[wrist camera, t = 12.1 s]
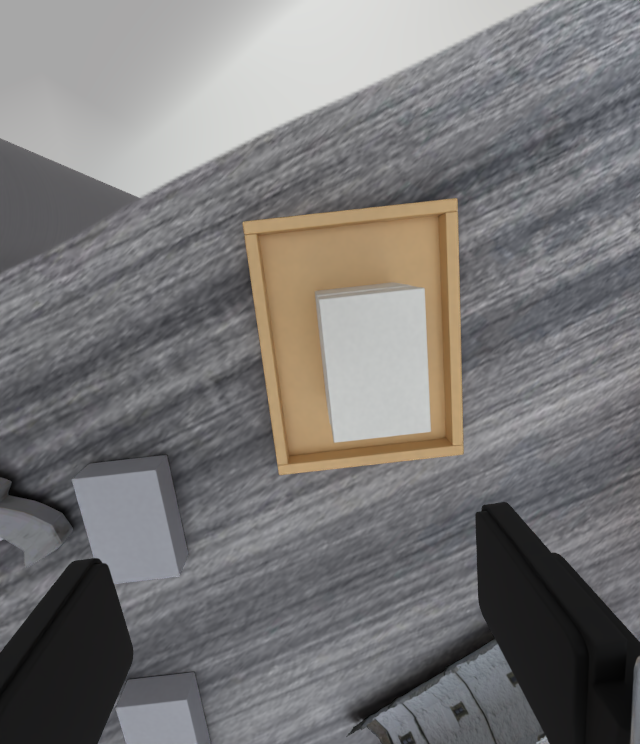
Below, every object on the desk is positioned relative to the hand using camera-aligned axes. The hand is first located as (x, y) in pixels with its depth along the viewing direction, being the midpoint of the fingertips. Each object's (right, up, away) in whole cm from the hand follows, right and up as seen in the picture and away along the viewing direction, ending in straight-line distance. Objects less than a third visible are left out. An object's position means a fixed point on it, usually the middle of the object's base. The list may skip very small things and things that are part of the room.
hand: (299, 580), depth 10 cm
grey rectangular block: (-13, -26, +27) cm, 40 cm away
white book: (+3, +6, +14) cm, 16 cm away
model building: (+14, -22, +27) cm, 38 cm away
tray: (+3, +7, +20) cm, 21 cm away
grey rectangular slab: (-14, -6, +22) cm, 27 cm away
